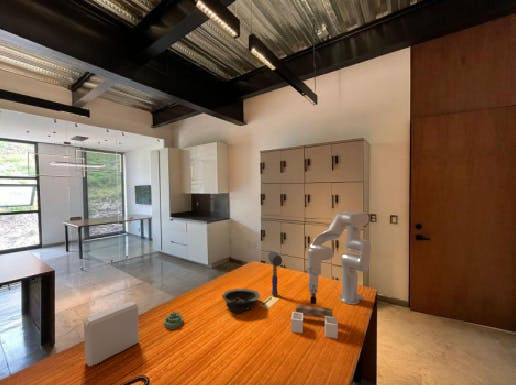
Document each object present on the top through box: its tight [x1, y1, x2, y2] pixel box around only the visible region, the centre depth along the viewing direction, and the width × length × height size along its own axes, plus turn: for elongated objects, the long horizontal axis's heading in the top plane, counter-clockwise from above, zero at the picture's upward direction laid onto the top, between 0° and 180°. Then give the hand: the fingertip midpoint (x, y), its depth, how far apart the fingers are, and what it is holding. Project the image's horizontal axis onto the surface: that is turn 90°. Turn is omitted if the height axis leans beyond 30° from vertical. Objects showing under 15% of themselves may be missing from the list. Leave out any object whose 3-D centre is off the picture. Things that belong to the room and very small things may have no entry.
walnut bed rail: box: [295, 304, 333, 319], centre depth 134 cm, size 20×4×7 cm, turn 77°
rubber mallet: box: [267, 250, 283, 297], centre depth 163 cm, size 12×8×30 cm, turn 14°
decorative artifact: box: [163, 311, 184, 330], centre depth 131 cm, size 10×7×10 cm
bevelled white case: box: [83, 300, 140, 367], centre depth 109 cm, size 21×8×20 cm, turn 141°
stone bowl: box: [221, 288, 261, 313], centre depth 150 cm, size 25×25×9 cm
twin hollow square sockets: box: [290, 311, 339, 340], centre depth 124 cm, size 24×7×7 cm, turn 77°
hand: (313, 299), depth 133 cm, fingers open, 9 cm apart
